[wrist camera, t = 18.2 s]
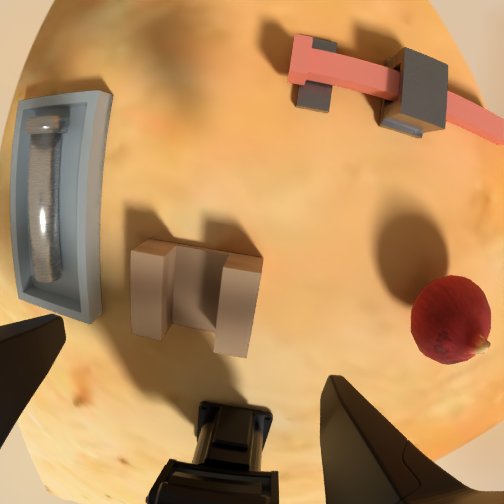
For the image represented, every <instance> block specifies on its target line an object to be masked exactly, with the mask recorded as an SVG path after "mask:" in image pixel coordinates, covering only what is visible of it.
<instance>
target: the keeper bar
mask: <svg viewBox="0 0 504 504" xmlns="http://www.w3.org/2000/svg"><path fill="white" fill-rule="evenodd" d="M312 42H313V37H310V36H305V35H299V34H295V35H294V42H293V49H292V56H291V62H290V69H289V76H288V83H293V84H299V85H304V84H305V81H306V80H310V81H315V82H320V83H325V84H330V85H334V86H338V87H343V88H347V89H351V90H355V91H359V92H362V93H366V94H370V95H373V96H377V97H380V98H383V99H387V100H390V101H393V102H395V101H397V100H398V94H399V81H400V71H397V70H394V69H391V68H388V67H385V66H381V65H378V64H375V63H371V62H368V61H364V60H361V59H357V58H353V57H349V56H345V55H341V54H337V53H333V52H328V51H323V50H319V49H314V48H312ZM446 121H448V122H450V123H452V124H455V125H457V126H459V127H462V128H464V129H466V130H468V131H470V132H473V133H475V134H477V135H479V136H481V137H483V138H485V139H487V140H489V141H491V142H493V143H495V144H497V145H504V119H502V118H500V117H499V116H497V115H495V114H494V113H492V112H490V111H488V110H486V109H484V108H483V107H481V106H479V105H477V104H475V103H473V102H471V101H469V100H467V99H465V98H463V97H461V96H459V95H457V94H454V93H452V92H450V91H447V110H446Z"/></svg>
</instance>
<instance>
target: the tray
mask: <svg viewBox="0 0 504 504" xmlns="http://www.w3.org/2000/svg"><path fill="white" fill-rule="evenodd" d="M112 100H113V95H112V94H109V93H106V92H103V91H100V90H94V91H83V92H73V93H65V94H57V95H50V96H44V97H38V98H32V99H27V100H21V101H19V103H18V109H17V115H16V122H15V130H14V138H13V148H12V161H11V180H10V219H11V239H12V251H13V261H14V270H15V278H16V285H17V291H18V297H19V299H21V300H24V301H26V302H29V303H32V304H34V305H37V306H39V307H42V308H45V309H47V310H50V311H53V312H56V313H58V314H61V315H64V316H67V317H70V318H73V319H76V320H79V321H82V322H85V323H88V324H91V323H92V322H93V321H94V320H95V319H96V318H98V317H99V316H100V315H101V314H102V302H101V284H100V208H101V190H102V177H103V165H104V156H105V147H106V139H107V131H108V124H109V118H110V112H111V106H112ZM35 116H68V117H69V123H68V132H67V133H62V135H61V146H60V161H59V185H58V217H59V241H60V255H61V267H62V277H61V278H60V279H58V280H56V281H53V282H47V283H44V282H39V281H37V280H35V277H34V270H33V262H32V253H31V243H30V230H29V211H28V167H29V148H30V135H25V130H26V121H27V118H28V117H35Z"/></svg>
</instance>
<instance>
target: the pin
mask: <svg viewBox="0 0 504 504" xmlns="http://www.w3.org/2000/svg"><path fill="white" fill-rule="evenodd" d="M68 123H69V117H68V116H35V117H28V118H27V121H26V130H25V135H30V148H29V167H28V211H29V230H30V243H31V253H32V262H33V270H34V277H35V280H37V281H39V282H44V283H47V282H53V281H56V280H58V279H60V278H61V277H62V267H61V255H60V241H59V217H58V185H59V161H60V146H61V135H62V133H67V132H68Z"/></svg>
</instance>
